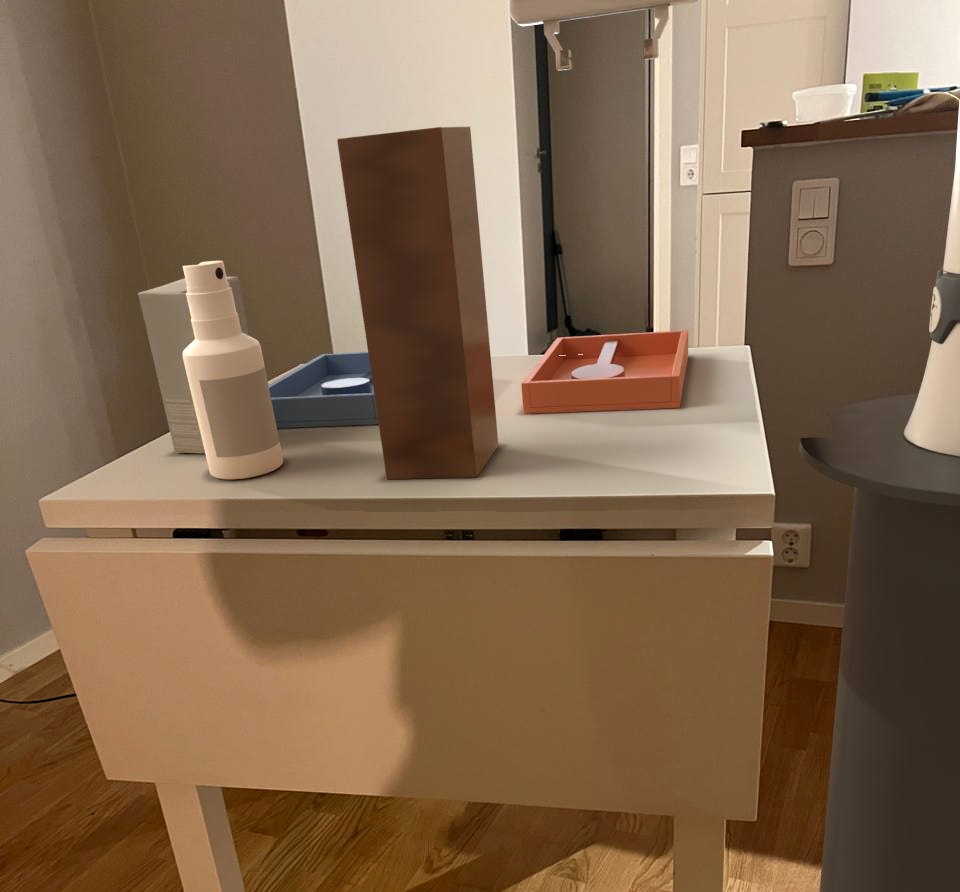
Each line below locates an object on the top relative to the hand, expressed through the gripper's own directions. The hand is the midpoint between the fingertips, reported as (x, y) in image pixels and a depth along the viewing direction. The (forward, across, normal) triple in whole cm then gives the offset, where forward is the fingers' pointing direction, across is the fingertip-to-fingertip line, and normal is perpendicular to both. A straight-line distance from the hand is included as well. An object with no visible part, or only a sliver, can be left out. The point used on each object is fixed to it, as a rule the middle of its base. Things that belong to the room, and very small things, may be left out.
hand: (607, 64), depth 103 cm
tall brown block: (+31, +11, +41) cm, 53 cm away
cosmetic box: (+31, +37, +33) cm, 59 cm away
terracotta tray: (+31, -1, +14) cm, 34 cm away
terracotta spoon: (+30, 0, +12) cm, 32 cm away
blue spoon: (+31, +29, +11) cm, 44 cm away
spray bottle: (+31, +30, +42) cm, 60 cm away
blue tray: (+31, +29, +16) cm, 45 cm away
